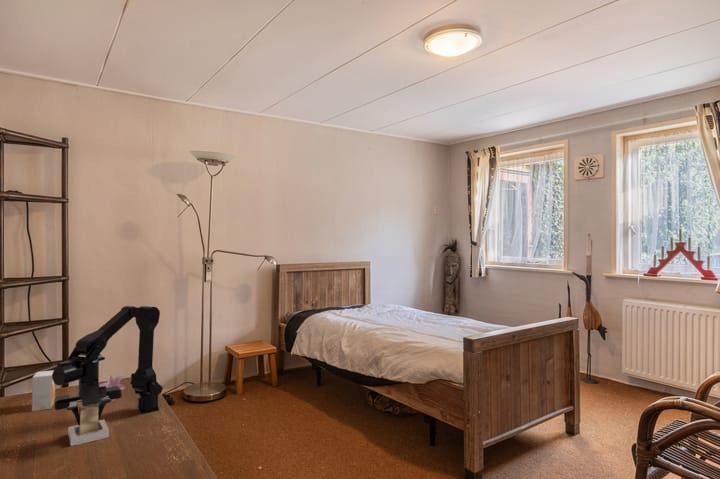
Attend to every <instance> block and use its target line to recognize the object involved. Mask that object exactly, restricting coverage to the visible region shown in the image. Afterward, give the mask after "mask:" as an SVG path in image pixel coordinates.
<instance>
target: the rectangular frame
mask: <svg viewBox="0 0 720 479" xmlns="http://www.w3.org/2000/svg"><path fill="white" fill-rule="evenodd" d="M67 432H68V433H67V435H68V439H69V444H70V445H69V446H70V447H73V446H77V445H81V444H85V443H86V444H87V443H90V442H94V441H99V440H102V439H107V438H109V437H110V435H109V434H110V429H109V427H108V425H107V422H106V421H105V419H100V420H99V422H98V431H93V432H89V433H84V434H80V432H79V425H78V424H75V425H72V426H68V429H67Z"/></svg>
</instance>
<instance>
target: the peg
mask: <svg viewBox="0 0 720 479" xmlns="http://www.w3.org/2000/svg"><path fill="white" fill-rule="evenodd" d="M78 411H79V417H80V426H79V432H80V434H84V433H89V432H93V431H98V404H91V405H88V406H83V405H78ZM80 434H79V435H80Z"/></svg>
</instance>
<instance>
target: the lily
mask: <svg viewBox="0 0 720 479" xmlns="http://www.w3.org/2000/svg"><path fill="white" fill-rule="evenodd" d="M123 377H124V373H121V374H118V375H117V376H115V377H113V376H112V375H108V378H107V382H103V383H100V384H99V387H103V386H106V388H109V387H115V386H118V387H119V388H120V389H121V391H122V390H123V389H126V386H125V385H123V384H121V382H122V381H121V380H122V379H123ZM115 400H116V399H113V400H111V401H113V402H114V401H115Z"/></svg>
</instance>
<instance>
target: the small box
mask: <svg viewBox="0 0 720 479" xmlns="http://www.w3.org/2000/svg"><path fill="white" fill-rule="evenodd" d="M53 371H54V370H43V371H36V372H35V373H34V375H33V376H32V379H31V380H32V382H31V383H32V386H31V390H32V391H31V397H32V399H31V412H36V411H45V410H51V409H52V408H53V406H54V399H55V398H56V384H55V383H54V381H53V378H52V373H53Z"/></svg>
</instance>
